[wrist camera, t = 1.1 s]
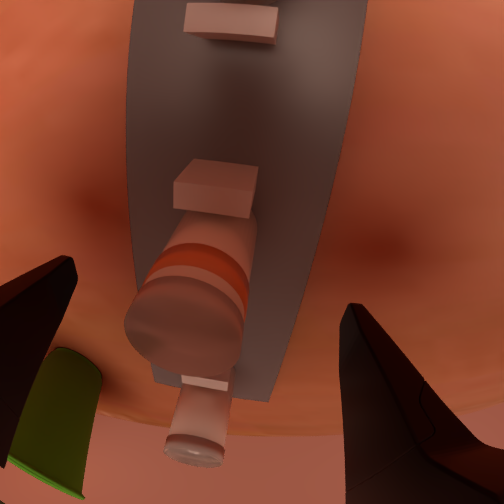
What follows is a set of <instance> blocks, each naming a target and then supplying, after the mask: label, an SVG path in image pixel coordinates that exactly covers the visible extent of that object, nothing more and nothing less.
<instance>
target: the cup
mask: <svg viewBox="0 0 504 504" xmlns="http://www.w3.org/2000/svg"><path fill="white" fill-rule="evenodd" d="M101 379H102V377H101V374H100V372H99V370H98V369H97V368H96V367H95V366H94V365H93V364H92V363H91V362H90V361H89V360H87V359H86V358H85V357H83V356H82V355H80V354H78V353H76V352H74V351H72V350H69V349H66V348H57V349H55V350H54V351H52V352H51V353H50V354H49V355H48V356H47V357H46V358H45V360H44V361H43V362H42V364H41V366H40V369H39V371H38V373H37V376H36V378H35V380H34V383H33V385H32V388H31V390H30V393H29V395H28V398H27V401H26V403H25V406H24V409H23V411H22V414H21V417H20V420H19V423H18V426H17V429H16V432H15V435H14V438H13V441H12V445H11V448H10V451H9V455H8V458H7V460H8V461H9V462H11V463H12V464H14V465H15V466H17V467H18V468H20V469H22V470H23V471H25V472H27V473H28V474H30V475H32V476H33V477H35V478H37V479H39V480H40V481H42V482H44V483H46V484H48V485H50V486H52V487H54V488H56V489H58V490H60V491H62V492H64V493H66V494H69V495H71V496H73V497H76V498H78V499H81V500H84V499H85V497H84V496H83V495H82V486H83V479H84V472H85V466H86V460H87V454H88V448H89V442H90V437H91V432H92V427H93V422H94V417H95V412H96V408H97V403H98V399H99V394H100V390H101V386H102V381H101Z"/></svg>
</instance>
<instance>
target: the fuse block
mask: <svg viewBox="0 0 504 504" xmlns="http://www.w3.org/2000/svg"><path fill="white" fill-rule="evenodd" d="M367 1H368V0H277V1H275V2H274V3H271V4H269V5H266V6H260V5H249V4H233V3H224V2H222V1H220V0H135V1H134V8H133V16H132V25H131V34H130V45H129V57H128V72H127V94H126V165H127V188H128V204H129V218H130V229H131V240H132V249H133V258H134V266H135V274H136V282H137V289H138V291H139V290H140V289H141V287H142V284H143V282H144V280H145V278H146V277H147V275H148V273H149V271H150V269H151V268H152V266H153V264H154V262H155V261H156V259H157V258H158V256H159V255H160V254H161V253H162V252H163V250H164V248H165V246H166V245H167V243H168V241H169V240H170V238H171V236H172V234H173V233H174V231H175V229H176V228H177V226H178V224H179V223H180V221H181V219H182V218H183V216H184V214H185V213H186V211H187V210H191V211H199V212H206V213H213V214H220V215H227V216H234V217H241V218H248V219H249V217H250V212H251V210H252V212H253V214H254V216H255V218H256V222H257V237H256V243H255V250H254V256H253V262H252V269H251V275H250V282H249V288H250V290H249V299H248V306H247V312H246V318H245V322H244V332H243V339H242V346H241V352H240V356H239V359H238V361H237V362H236V364H235V365H234V366H233V367H234V369H235V371H236V376H235V382H234V389H233V395H232V397H234V398H240V399H248V400H255V401H263V402H269V399H270V396H271V393H272V390H273V387H274V385H275V382H276V379H277V376H278V373H279V370H280V367H281V364H282V361H283V358H284V355H285V352H286V349H287V346H288V343H289V339H290V336H291V333H292V330H293V327H294V324H295V320H296V317H297V314H298V311H299V307H300V304H301V301H302V297H303V294H304V291H305V287H306V284H307V280H308V277H309V274H310V270H311V266H312V263H313V259H314V256H315V252H316V248H317V245H318V241H319V237H320V234H321V230H322V226H323V222H324V218H325V214H326V211H327V207H328V203H329V199H330V194H331V190H332V186H333V182H334V178H335V174H336V169H337V165H338V161H339V156H340V152H341V147H342V143H343V138H344V134H345V129H346V124H347V119H348V114H349V109H350V104H351V99H352V94H353V89H354V83H355V78H356V72H357V67H358V61H359V55H360V49H361V43H362V36H363V30H364V23H365V16H366V9H367ZM151 367H152V371H153V376H154V380H155V382H157V383H161V384H165V385H170V386H174V387H179V388H181V387H182V383H185V384H190V385H195V386H201V387H206V388H212V389H217V390H223V391H227V389H228V383H229V377H230V372H231V368H230V369H229V370H227V371H226V372H223V373H221V374H218V375H214V376H208V377H192V376H185V375H180V374H176V373H173V372H170V371H167V370H165V369H163V368H161V367H158V366H157V365H155V364H153V363H151Z"/></svg>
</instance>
